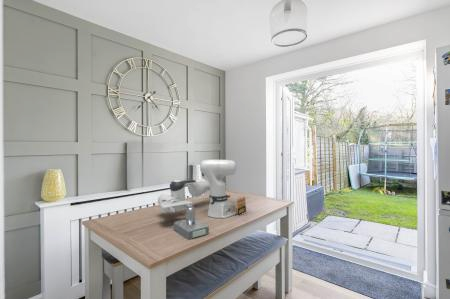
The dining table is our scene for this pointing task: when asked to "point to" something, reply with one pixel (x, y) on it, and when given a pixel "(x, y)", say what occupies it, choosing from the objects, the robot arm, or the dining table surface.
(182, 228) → the kitchen scale
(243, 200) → the ammunition clip
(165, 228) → the dining table surface
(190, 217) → the cylinder
